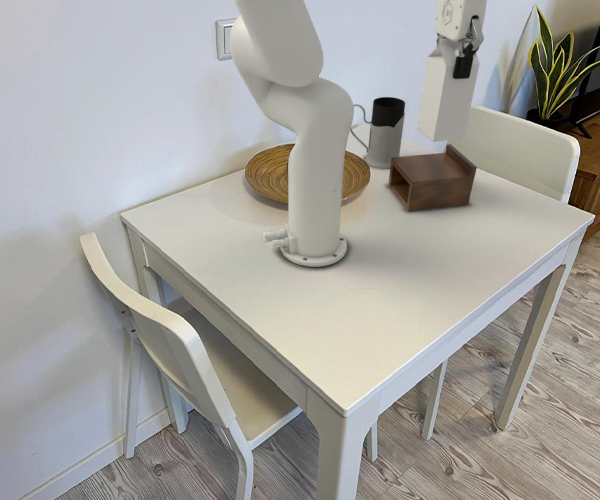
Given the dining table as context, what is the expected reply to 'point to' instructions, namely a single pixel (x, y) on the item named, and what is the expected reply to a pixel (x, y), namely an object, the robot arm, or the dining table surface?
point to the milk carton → (446, 95)
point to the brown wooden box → (432, 179)
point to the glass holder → (384, 131)
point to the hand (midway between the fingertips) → (451, 71)
